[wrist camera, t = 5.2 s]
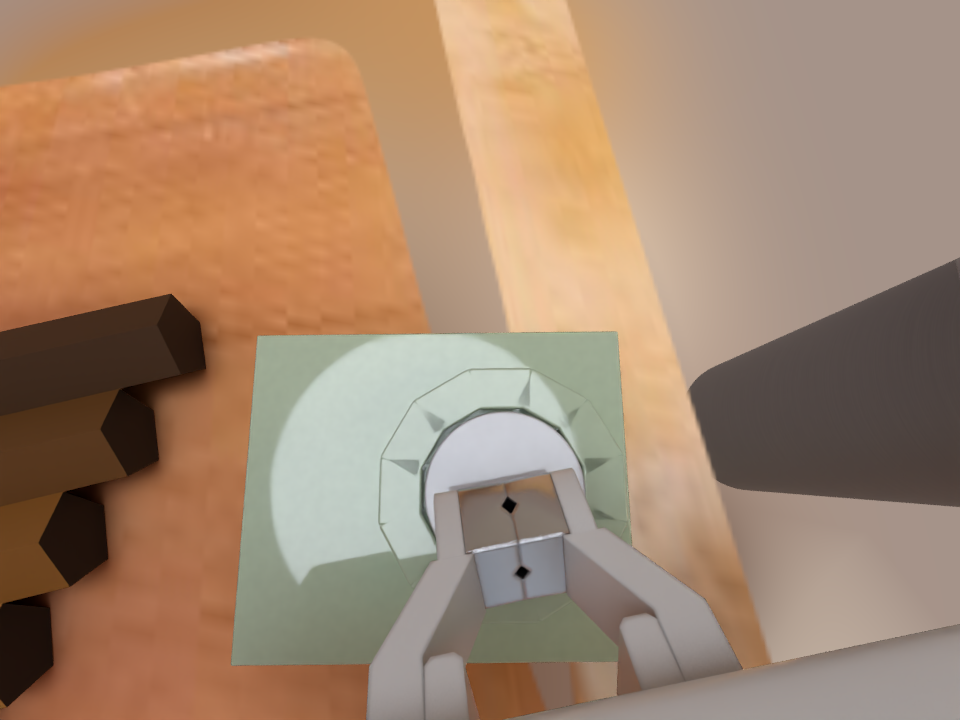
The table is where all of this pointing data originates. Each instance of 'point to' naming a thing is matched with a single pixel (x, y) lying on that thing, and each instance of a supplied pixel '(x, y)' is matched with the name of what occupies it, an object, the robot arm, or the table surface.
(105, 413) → the pan flute
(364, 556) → the dispenser
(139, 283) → the table surface
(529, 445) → the grey push button
